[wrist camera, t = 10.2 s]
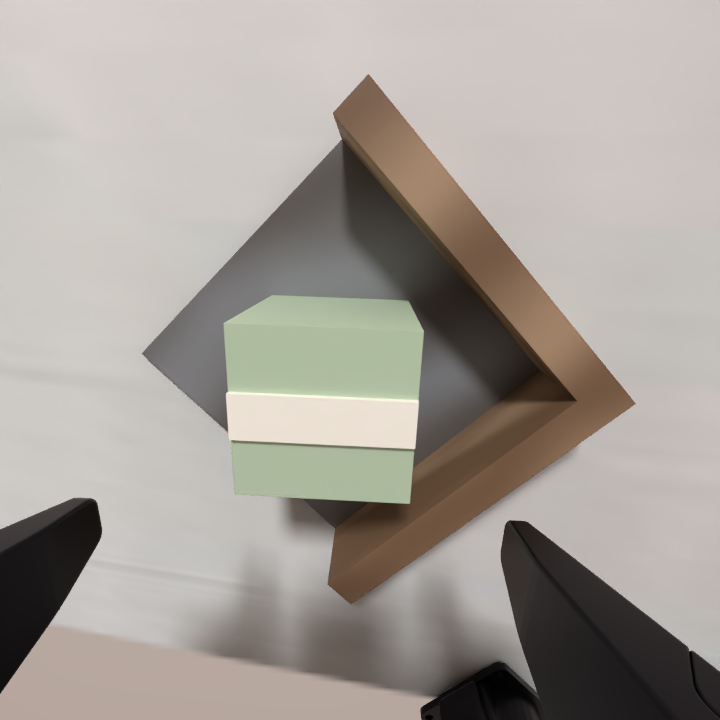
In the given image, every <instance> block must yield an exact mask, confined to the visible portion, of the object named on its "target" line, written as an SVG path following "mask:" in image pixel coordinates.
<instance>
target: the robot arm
mask: <svg viewBox="0 0 720 720" xmlns="http://www.w3.org/2000/svg"><path fill="white" fill-rule="evenodd" d="M101 535H102V526H101V521H100V515H99V510H98V505H97V502H96V501H95V500H94V499H91V498H73V499H70V500H68V501H66V502H63V503H61V504H59V505H56V506H54V507H52V508H49V509H47V510H45V511H42V512H40V513H38V514H35V515H33V516H31V517H28V518H26V519H24V520H21V521H19V522H17V523H14V524H12V525H10V526H7V527H5V528H3V529H0V693H1V692H2V690H3V689H4V687H5V686H6V685H7V683H8V682H9V681H10V679H11V678H12V676H13V675H14V674H15V672H16V671H17V669H18V668H19V666H20V665H21V664H22V662H23V661H24V659H25V658H26V657H27V655H28V654H29V652H30V651H31V649H32V648H33V647H34V645H35V644H36V642H37V641H38V639H39V638H40V637H41V635H42V634H43V632H44V631H45V629H46V628H47V627H48V625H49V624H50V622H51V621H52V619H53V618H54V617H55V615H56V614H57V612H58V611H59V609H60V607H61V606H62V604H63V603H64V601H65V599H66V598H67V596H68V594H69V593H70V591H71V589H72V587H73V586H74V584H75V582H76V581H77V579H78V577H79V575H80V574H81V572H82V570H83V569H84V567H85V565H86V563H87V562H88V560H89V558H90V557H91V555H92V553H93V551H94V550H95V548H96V546H97V545H98V543H99V541H100V538H101ZM501 563H502V568H503V572H504V576H505V581H506V585H507V589H508V594H509V598H510V602H511V607H512V611H513V615H514V619H515V624H516V628H517V632H518V636H519V639H520V642H521V645H522V649H523V652H524V655H525V658H526V660H527V663H528V666H529V669H530V672H531V675H532V678H533V681H534V684H535V687H536V690H537V692H536V691H535V690H534V689H533V688H531V687H530V686H529V685H528V684H527V683H526V682H525V681H524V680H523V679H522V678H520V677H519V676H518V675H517V674H516V673H515V672H514V671H513V670H512V669H511V668H510V667H508V666H507V665H506V664H505V663H501V662H499V663H495V664H493V665H491V666H490V667H488V668H486V669H485V670H483V671H481V672H480V673H478V674H476V675H475V676H473V677H471V678H469V679H468V680H466V681H464V682H463V683H461V684H459V685H458V686H456V687H454V688H453V689H451V690H449V691H448V692H446V693H444V694H442V695H441V696H439V697H437V698H436V699H434V700H432V701H431V702H429V703H427V704H426V705H424V706H423V707H421V719H422V720H720V671H718V670H717V669H716V668H715V667H713V666H712V665H711V664H709V663H708V662H707V661H706V660H704V659H703V658H702V657H700V656H699V655H698V654H697V653H695V652H694V651H690V652H689V648H688V647H687V646H686V645H685V644H683V643H682V642H681V641H680V640H678V639H677V638H676V637H674V636H673V635H672V634H671V633H669V632H668V631H667V630H665V629H664V628H663V627H662V626H660V625H659V624H658V623H657V622H655V621H654V620H653V619H651V618H650V617H649V616H648V615H646V614H645V613H644V612H642V611H641V610H640V609H639V608H637V607H636V606H635V605H633V604H632V603H631V602H630V601H628V600H627V599H626V598H624V597H623V596H622V595H621V594H619V593H618V592H617V591H615V590H614V589H613V588H612V587H610V586H609V585H608V584H606V583H605V582H604V581H603V580H601V579H600V578H599V577H597V576H596V575H595V574H594V573H592V572H591V571H590V570H588V569H587V568H586V567H585V566H583V565H582V564H581V563H579V562H578V561H577V560H576V559H574V558H573V557H572V556H571V555H569V554H568V553H567V552H565V551H564V550H563V549H562V548H560V547H559V546H558V545H556V544H555V543H554V542H553V541H551V540H550V539H549V538H547V537H546V536H545V535H544V534H542V533H541V532H540V531H538V530H537V529H536V528H535V527H533V526H532V525H531V524H529V523H528V522H526V521H511V520H510V521H508V522H507V523H506V525H505V529H504V535H503V541H502V547H501Z"/></svg>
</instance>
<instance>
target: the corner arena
mask: <svg viewBox="0 0 720 720" xmlns="http://www.w3.org/2000/svg"><path fill="white" fill-rule="evenodd" d="M333 115H334V118H335V121H336V123H337V126H338V129H339V132H340V135H341V138H342V140H341V141H340V142H339V143H338V144H337V145H336V146H335V147H334V149H333V150H332V151H331V152H330V153H329V154H328V155H327V156H326V157H325V158H324V159H323V160H322V161H321V162H320V164H319V165H318V166H317V167H316V168H315V169H314V170H313V171H312V172H311V173H310V174H309V175H308V176H307V177H306V179H305V180H304V181H303V182H302V183H301V184H300V185H299V186H298V187H297V188H296V189H295V190H294V191H293V192H292V193H291V195H290V196H289V197H288V198H287V199H286V200H285V201H284V202H283V203H282V204H281V205H280V206H279V207H278V208H277V210H276V211H275V212H274V213H273V214H272V215H271V216H270V217H269V218H268V219H267V220H266V221H265V222H264V223H263V224H262V226H261V227H260V228H259V229H258V230H257V231H256V232H255V233H254V234H253V235H252V236H251V237H250V238H249V239H248V241H247V242H246V243H245V244H244V245H243V246H242V247H241V248H240V249H239V250H238V251H237V252H236V253H235V254H234V255H233V257H232V258H231V259H230V260H229V261H228V262H227V263H226V264H225V265H224V266H223V267H222V268H221V269H220V270H219V272H218V273H217V274H216V275H215V276H214V277H213V278H212V279H211V280H210V281H209V282H208V283H207V284H206V285H205V287H204V288H203V289H202V290H201V291H200V292H199V293H198V294H197V295H196V296H195V297H194V298H193V299H192V300H191V301H190V303H189V304H188V305H187V306H186V307H185V308H184V309H183V310H182V311H181V312H180V313H179V314H178V315H177V316H176V318H175V319H174V320H173V321H172V322H171V323H170V324H169V325H168V326H167V327H166V328H165V329H164V330H163V331H162V332H161V334H160V335H159V336H158V337H157V338H156V339H155V340H154V341H153V342H152V343H151V344H150V345H149V346H148V347H147V349H146V350H145V351H144V352H143V353H142V354H143V355H144V356H145V357H146V358H147V359H148V360H149V361H150V362H151V363H153V364H154V365H155V366H156V367H157V368H158V369H159V370H160V371H161V372H163V373H164V374H165V375H166V376H167V377H168V378H169V379H170V380H171V381H173V382H174V383H175V384H176V385H177V386H178V387H179V388H180V389H181V390H183V391H184V392H185V393H186V394H187V395H188V396H189V397H190V398H191V399H193V400H194V401H195V402H196V403H197V404H198V405H199V406H200V407H201V408H203V409H204V410H205V411H206V412H207V413H208V414H209V415H210V416H211V417H213V418H214V419H215V420H216V421H217V422H218V423H219V424H220V425H221V426H222V427H224V428H225V429H226V430H227V431H228V420H227V405H226V393H227V392H228V385H227V370H226V354H225V339H224V324H223V323H225V322H226V321H228V320H230V319H232V318H233V317H235V316H237V315H239V314H240V313H242V312H244V311H245V310H247V309H249V308H251V307H252V306H254V305H256V304H258V303H259V302H261V301H263V300H265V299H266V298H268V297H270V296H271V295H282V296H308V297H333V298H359V299H384V300H408V301H409V303H410V305H411V307H412V309H413V311H414V313H415V315H416V317H417V319H418V321H419V323H420V325H421V327H422V329H423V331H424V337H423V349H422V362H421V374H420V386H419V398H418V401H419V409H418V421H417V433H416V445H415V449H414V459H413V471H412V484H411V496H410V504H403V503H384V502H365V501H346V500H327V499H307V498H302V499H303V500H305V501H306V502H307V503H308V504H309V505H310V506H311V507H312V508H313V509H315V510H316V511H317V512H318V513H319V514H320V515H321V516H322V517H323V518H325V519H326V520H327V521H328V522H329V523H330V524H331V525H332V526H333V527H335V535H334V542H333V549H332V557H331V564H330V571H329V578H328V585H329V586H330V587H331V588H333V589H334V590H335V591H336V592H337V593H338V594H340V595H341V596H342V597H343V598H344V599H345V600H347V601H348V602H349V603H350V604H352V603H354V602H355V601H356V600H358V599H359V598H361V597H362V596H364V595H365V594H366V593H368V592H369V591H371V590H372V589H373V588H375V587H376V586H378V585H379V584H381V583H382V582H383V581H385V580H386V579H388V578H389V577H390V576H392V575H393V574H395V573H396V572H398V571H399V570H400V569H402V568H403V567H405V566H406V565H408V564H409V563H410V562H412V561H413V560H415V559H416V558H417V557H419V556H420V555H422V554H423V553H425V552H426V551H427V550H429V549H430V548H432V547H433V546H435V545H436V544H437V543H439V542H440V541H442V540H443V539H444V538H446V537H447V536H449V535H450V534H452V533H453V532H454V531H456V530H457V529H459V528H460V527H461V526H463V525H464V524H466V523H467V522H469V521H470V520H471V519H473V518H474V517H476V516H477V515H479V514H480V513H481V512H483V511H484V510H486V509H487V508H488V507H490V506H491V505H493V504H494V503H496V502H497V501H498V500H500V499H501V498H503V497H504V496H506V495H507V494H508V493H510V492H511V491H513V490H514V489H515V488H517V487H518V486H520V485H521V484H523V483H524V482H525V481H527V480H528V479H530V478H531V477H532V476H534V475H535V474H537V473H538V472H540V471H541V470H542V469H544V468H545V467H547V466H548V465H550V464H551V463H552V462H554V461H555V460H557V459H558V458H559V457H561V456H562V455H564V454H565V453H567V452H568V451H569V450H571V449H572V448H574V447H575V446H577V445H578V444H579V443H581V442H582V441H584V440H585V439H586V438H588V437H589V436H591V435H592V434H594V433H595V432H596V431H598V430H599V429H601V428H602V427H603V426H605V425H606V424H608V423H609V422H611V421H612V420H613V419H615V418H616V417H618V416H619V415H621V414H622V413H623V412H625V411H626V410H628V409H629V408H630V407H632V406H633V405H635V404H636V403H635V402H634V401H633V400H632V399H631V397H630V396H629V395H628V394H627V392H626V391H625V390H624V389H623V387H622V386H621V385H620V384H619V383H618V381H617V380H616V379H615V378H614V376H613V375H612V374H611V373H610V371H609V370H608V369H607V368H606V366H605V365H604V364H603V363H602V362H601V360H600V359H599V358H598V357H597V355H596V354H595V353H594V352H593V350H592V349H591V348H590V347H589V346H588V344H587V343H586V342H585V341H584V339H583V338H582V337H581V336H580V334H579V333H578V332H577V331H576V329H575V328H574V327H573V326H572V325H571V323H570V322H569V321H568V320H567V318H566V317H565V316H564V315H563V313H562V312H561V311H560V310H559V308H558V307H557V306H556V305H555V304H554V302H553V301H552V300H551V299H550V297H549V296H548V295H547V294H546V292H545V291H544V290H543V289H542V288H541V286H540V285H539V284H538V283H537V281H536V280H535V279H534V278H533V276H532V275H531V274H530V273H529V271H528V270H527V269H526V268H525V267H524V265H523V264H522V263H521V262H520V260H519V259H518V258H517V257H516V255H515V254H514V253H513V252H512V251H511V249H510V248H509V247H508V246H507V244H506V243H505V242H504V241H503V239H502V238H501V237H500V236H499V234H498V233H497V232H496V231H495V230H494V228H493V227H492V226H491V225H490V223H489V222H488V221H487V220H486V218H485V217H484V216H483V215H482V214H481V212H480V211H479V210H478V209H477V207H476V206H475V205H474V204H473V202H472V201H471V200H470V199H469V197H468V196H467V195H466V194H465V193H464V191H463V190H462V189H461V188H460V186H459V185H458V184H457V183H456V181H455V180H454V179H453V178H452V177H451V175H450V174H449V173H448V172H447V170H446V169H445V168H444V167H443V165H442V164H441V163H440V162H439V160H438V159H437V158H436V157H435V156H434V154H433V153H432V152H431V151H430V149H429V148H428V147H427V146H426V144H425V143H424V142H423V141H422V140H421V138H420V137H419V136H418V135H417V133H416V132H415V131H414V130H413V128H412V127H411V126H410V125H409V123H408V122H407V121H406V120H405V119H404V117H403V116H402V115H401V114H400V112H399V111H398V110H397V109H396V107H395V106H394V105H393V104H392V102H391V101H390V100H389V99H388V98H387V96H386V95H385V94H384V93H383V91H382V90H381V89H380V88H379V86H378V85H377V84H376V83H375V82H374V80H373V79H372V78H371V77H370V75H369V74H368V75H367V76H366V77H365V78H364V80H363V81H362V82H361V83H360V84H359V85H358V86H357V87H356V88H355V89H354V91H353V92H352V93H351V94H350V95H349V96H348V97H347V98H346V99H345V100H344V101H343V103H342V104H341V105H340V106H339V107H338V108H337V109H336V110H335V111H334V112H333Z"/></svg>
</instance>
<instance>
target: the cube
mask: <svg viewBox="0 0 720 720" xmlns="http://www.w3.org/2000/svg"><path fill="white" fill-rule="evenodd" d="M223 324H224V339H225V354H226V370H227V385H228V392H227V393H226V405H227V420H228V435H229V440H231V445H232V460H233V475H234V490H235V495H250V496H269V497H288V498H307V499H327V500H346V501H365V502H384V503H403V504H410V496H411V484H412V471H413V459H414V449H415V445H416V433H417V421H418V409H419V401H418V398H419V386H420V374H421V362H422V349H423V337H424V331H423V329H422V327H421V325H420V323H419V321H418V319H417V317H416V315H415V313H414V311H413V309H412V307H411V305H410V303H409V301H408V300H384V299H359V298H333V297H308V296H282V295H271V296H270V297H268V298H266V299H265V300H263V301H261V302H259V303H258V304H256V305H254V306H252V307H251V308H249V309H247V310H245V311H244V312H242V313H240V314H239V315H237V316H235V317H233V318H232V319H230V320H228V321H226V322H225V323H223Z"/></svg>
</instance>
